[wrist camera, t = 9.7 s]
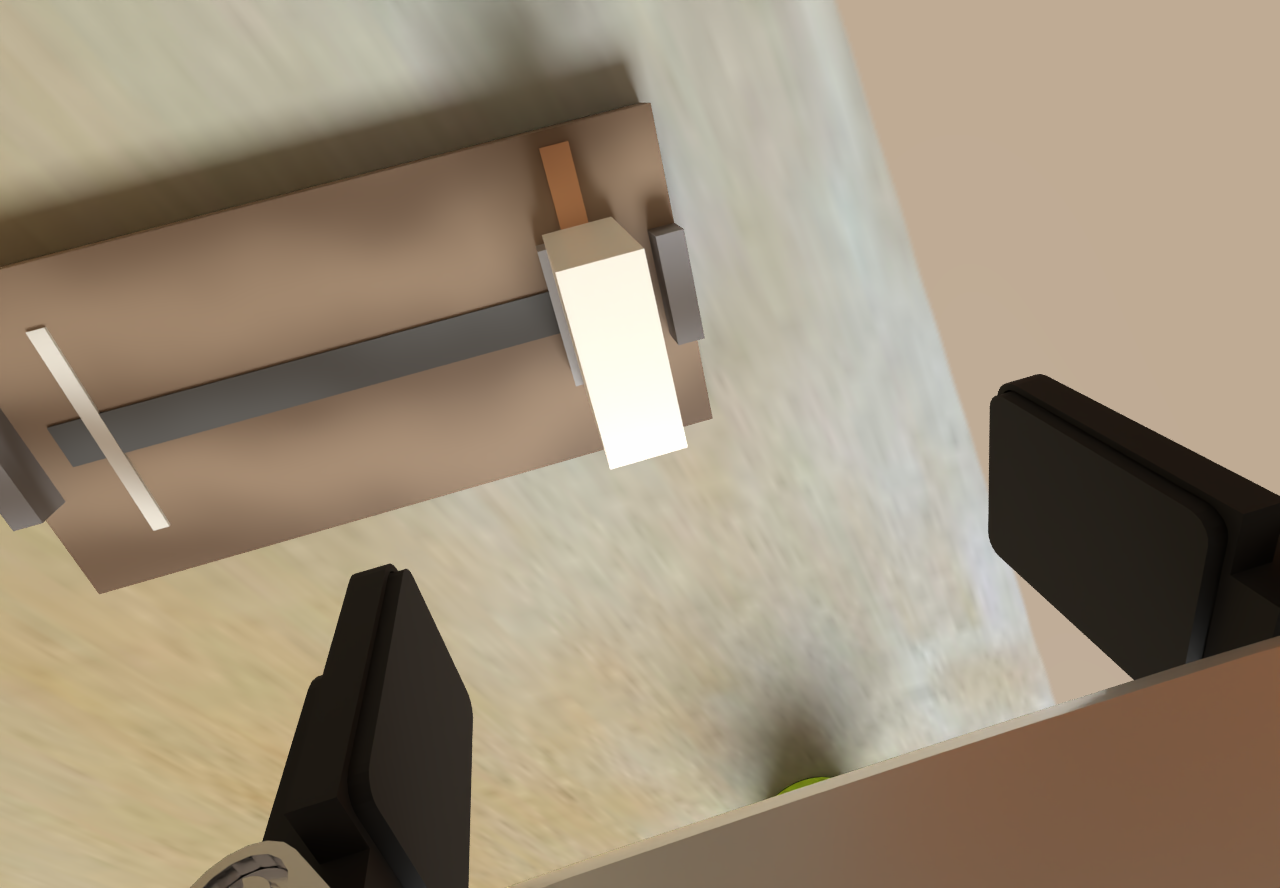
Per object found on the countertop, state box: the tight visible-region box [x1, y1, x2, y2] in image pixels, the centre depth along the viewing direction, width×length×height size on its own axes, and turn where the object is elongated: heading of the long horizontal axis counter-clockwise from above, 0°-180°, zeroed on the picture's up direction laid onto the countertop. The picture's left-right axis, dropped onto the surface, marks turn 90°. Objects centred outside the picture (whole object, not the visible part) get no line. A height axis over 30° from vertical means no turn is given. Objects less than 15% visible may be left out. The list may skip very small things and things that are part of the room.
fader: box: [536, 217, 688, 470], centre depth 23 cm, size 6×3×7 cm, turn 13°
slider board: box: [0, 103, 712, 594], centre depth 26 cm, size 12×25×4 cm, turn 103°
